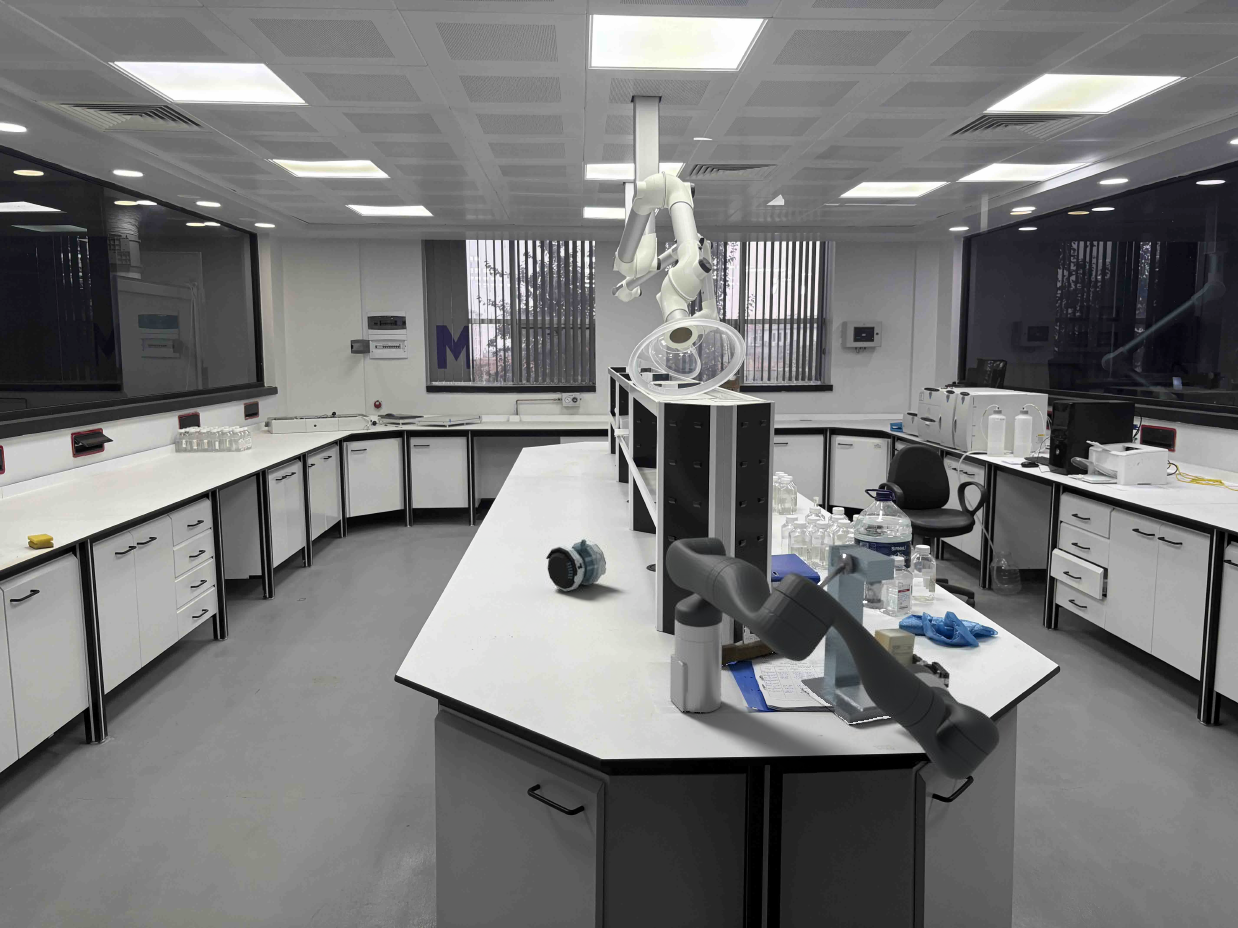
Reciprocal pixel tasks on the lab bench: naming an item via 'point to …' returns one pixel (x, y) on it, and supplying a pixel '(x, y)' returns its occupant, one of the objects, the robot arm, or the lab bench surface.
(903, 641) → the skincare box
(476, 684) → the lab bench surface
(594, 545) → the gadget
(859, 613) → the arbor press
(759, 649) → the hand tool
